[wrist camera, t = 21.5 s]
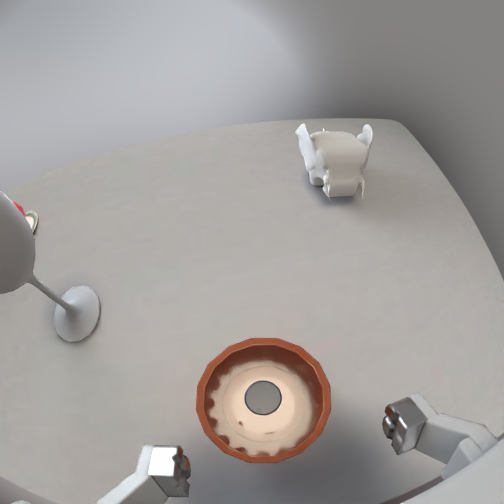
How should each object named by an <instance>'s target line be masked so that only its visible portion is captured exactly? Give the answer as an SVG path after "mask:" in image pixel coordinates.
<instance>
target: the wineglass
mask: <svg viewBox="0 0 504 504" xmlns="http://www.w3.org/2000/svg"><path fill="white" fill-rule="evenodd" d="M34 261H35V239H34V236H33V233H32V230H31V227H30V224H29V223H28V221H27V220H26V218H25V216H24V215H23V214H22V213H21V211H20V210H19V209H18V208H17V207H16V205H15V204H14V203H13V202H12V201H11V200H10V199H9V198H8V197H7V196H6V195H5V194H4V193H3V192H2V191H1V190H0V294H3V293H7V292H11V291H14V290H16V289H18V288H19V287H21V286H22V285H24V284H25V283H30V284H32V285H34V286H35V287H37V288H38V289H39V290H40V291H42V292H43V293H44V294H46V295H47V296H48V297H50V298H51V299H52V300H53V301H55V302H56V303H57V305H56V308H55V312H54V324H55V328H56V331H57V333H58V334H59V335H60V336H61V338H63V339H65V340H66V341H69V342H79V341H81V340H84V339H85V338H86V337H88V336H89V335H90V334H91V333H92V332H93V330H94V329H95V327H96V325H97V323H98V320H99V316H100V302H99V299H98V296H97V295H96V293H95V292H94V291H93V290H92V289H91V288H89V287H87V286H81V285H80V286H75V287H73V288H70V289H69V290H68V291H66V292H65V293H64V294H63V295H62V296H61V298H60V297H59V296H57V295H56V294H55V293H53V292H52V291H51V290H50V289H49V288H47V287H46V286H45V285H44V284H42V283H41V282H40V281H39V280H38V279H37V278H36V277H35V276H34V274H33V268H34Z"/></svg>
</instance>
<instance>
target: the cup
mask: <svg viewBox="0 0 504 504" xmlns="http://www.w3.org/2000/svg"><path fill="white" fill-rule="evenodd" d="M262 380H264V381H270V382H272V383H274V384H275V385H276V386H277V387H278V388H279V389H280V391H281V394H282V401H281V404H280V406H279V408H278V409H277V410H276V411H275V412H273V413H271V414H269V415H257V414H254V413H253V412H251V411H250V410H249V409H248V408H247V406H246V404H245V400H244V397H245V392H246V390H247V388H248V387H249V386H250V385H251V384H253V383H255V382H257V381H262ZM330 410H331V390H330V384H329V382H328V380H327V378H326V376H325V373H324V371H323V369H322V367H321V365H320V364H319V362H318V361H316V360H315V359H314V358H313V357H312V356H311V355H310V354H309V353H307V352H306V351H305V350H304V349H303V348H302V347H300V346H298V345H295V344H292V343H289V342H287V341H284V340H281V339H279V338H252V339H251V338H250V339H247V340H245V341H242V342H239V343H237V344H234V345H231V346H228V347H227V348H226V349H224V350H223V351H222V352H221V353H220V354H219V355H218V356H216V357H215V358H214V359H213V360H212V361H211V362H209V364H208V365H207V367H206V369H205V371H204V373H203V375H202V377H201V379H200V381H199V383H198V386H197V400H196V412H197V414H198V417H199V420H200V422H201V425H202V427H203V430H204V433H205V434H206V435H207V436H208V437H209V438H210V440H211V441H212V442H213V443H214V444H215V445H216V446H217V447H218V448H219V449H220V450H222V451H223V452H224V453H226V454H228V455H231V456H233V457H235V458H238V459H240V460H243V461H245V462H249V463H277V462H280V461H283V460H285V459H288V458H290V457H293V456H295V455H298V454H300V453H302V452H303V451H304V450H305V449H307V448H308V447H309V446H310V445H311V444H312V443H313V442H314V441H315V440H316V439H317V438H318V437H319V436H320V435H321V433H322V431H323V429H324V426H325V424H326V422H327V419H328V417H329V414H330V412H331V411H330Z"/></svg>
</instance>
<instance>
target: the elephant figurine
mask: <svg viewBox="0 0 504 504" xmlns="http://www.w3.org/2000/svg"><path fill="white" fill-rule="evenodd" d="M295 133H296V134H297V135H298V137H299V148H300V151H301V153H302V155H303V157H304V160H305V166H306V170H307V172H309V177H310V182H311V184H312V185H314V186H315V185H319V186H323V185H325V186H323V187H322V188H323V190H324V192H325V194H326V196H328V198H329V200H330V197H337V196H353V195H354V194H355V192H356V190H357V188H358V184H359V183H360V184H361V187H362V200H363V197H364V191H365V180H364V178H363V177H362V175H361V172H362V170H363V169H364V168H365V166H366V163H367V161H368V157H369V152H370V148H371V144H372V139H373V132H372V129H371V127H370V125H368V124H366V125H364V127H363V133H361V134H359V135H358V137H357V138H356V137H355V136H354V135H353V134H351V133H348V132H334V131H328V132H326V131H325V129H324V128H323V132H315V133H313V134H311V135H310V136H309V134H308V132H307V129H306V126H305V124H302V125H300V127H299V128H298V129H297V130H296V132H295ZM330 202H331V201H330Z"/></svg>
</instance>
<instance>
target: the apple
mask: <svg viewBox="0 0 504 504" xmlns="http://www.w3.org/2000/svg"><path fill="white" fill-rule="evenodd" d="M13 203H14V204H15V205H16V207H17V208H18V209H19V210H20V211H21V213H22V214H23V215H24V216H25V218H26V220H27V221H28V223H29V224H30V227H31V230H32V233H33V232H34V230H35V228H36V225H37V221H38V217H37V214H36V213H35V212H34V211H29V212H26V213H24V210H23V208H22V207H21V206H20V205H19V204H18V203H15V202H13Z"/></svg>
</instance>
